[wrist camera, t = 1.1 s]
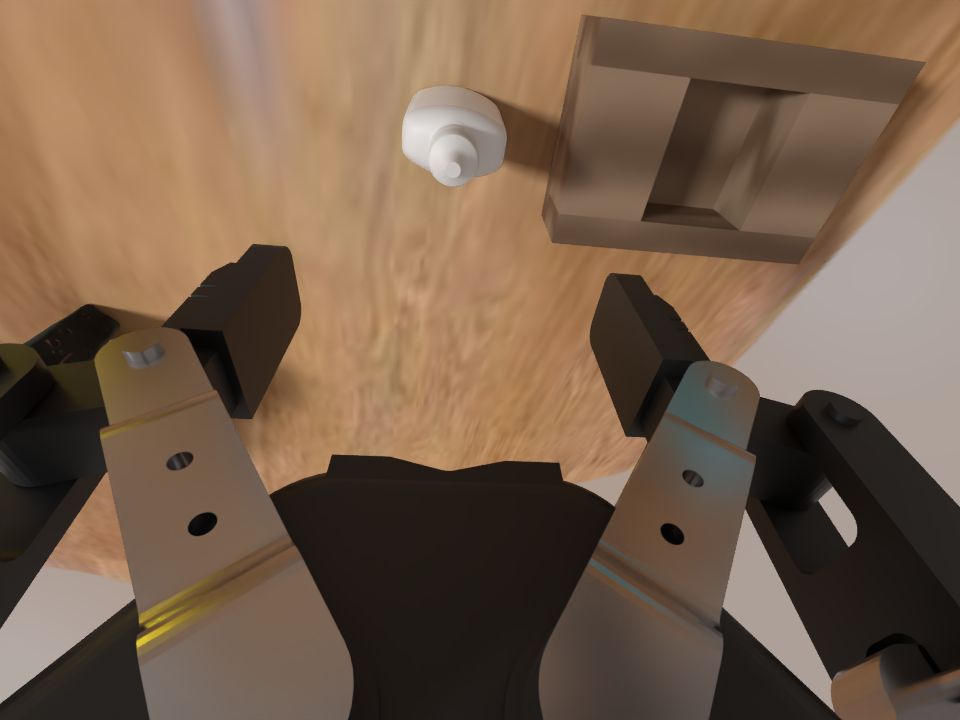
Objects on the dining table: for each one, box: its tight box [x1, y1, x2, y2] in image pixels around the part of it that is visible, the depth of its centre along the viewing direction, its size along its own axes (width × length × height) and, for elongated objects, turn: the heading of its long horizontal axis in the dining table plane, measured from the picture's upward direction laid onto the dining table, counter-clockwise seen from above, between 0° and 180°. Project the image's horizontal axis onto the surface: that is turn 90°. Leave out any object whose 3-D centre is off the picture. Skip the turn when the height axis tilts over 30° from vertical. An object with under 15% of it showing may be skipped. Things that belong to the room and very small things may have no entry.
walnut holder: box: [542, 15, 926, 264], centre depth 28 cm, size 12×18×5 cm, turn 84°
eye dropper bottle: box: [402, 86, 507, 187], centre depth 24 cm, size 4×6×12 cm
